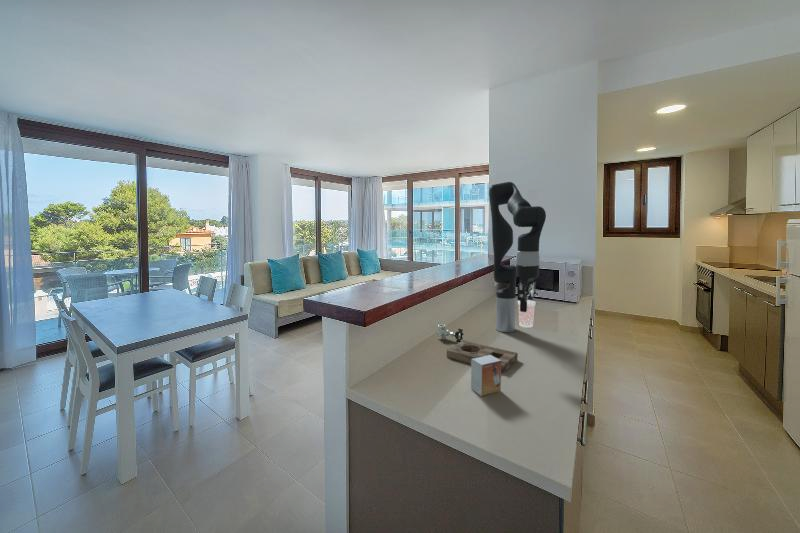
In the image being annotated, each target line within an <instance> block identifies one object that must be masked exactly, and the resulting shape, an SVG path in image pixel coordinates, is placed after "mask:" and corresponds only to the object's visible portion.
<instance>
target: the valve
mask: <svg viewBox="0 0 800 533" xmlns="http://www.w3.org/2000/svg"><path fill="white" fill-rule="evenodd" d="M457 330H458V331H456V332H453V331H450V330H449V329H446V325H445V324H443V323H440V324H438V325H437V332H436V333H437V339H438V338H440V339H439V340H441V339H443V340H446V337H449V336H450V337H455V338H454V339H455V342H456V343H459V342H461V341H463V340H464V339H463V338H464V337H463V336H464V332H463V331H464V330H463V328H457Z"/></svg>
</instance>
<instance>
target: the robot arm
mask: <svg viewBox="0 0 800 533" xmlns="http://www.w3.org/2000/svg"><path fill="white" fill-rule="evenodd" d="M488 197H489V205H490V207H489V208H490V216H491V232H492V233H491V235H492V236H491V237H492V248H493V279H494V280H493V281H494V282H495V283H496V284H508V286H507V287H505V288H502V289H498V290H497V291H496V298H495V300H496V301H495V302H496V303H495V304H496V307H495V309H496V310H495V312H496V313H495V330H496V331H498V332H501V333H513V332H515V331H516V305H517V304H516V302H517V301H518V300H519V301H520V311H521V312H526V311H527V300H532V301H534V297H535V295H536V290H537V289H536V287H537V278H538V277H539V276H540V238H541V235H542V231H543V227H544V225H545V222H546V219H547V218H546V217H547V213H546V210H545V208H543V206H537V205H536V206H532V205H531V204H530V202H528V200H527V199H526V198H524V197H523V196H522V194H521V192H520V191H519V189H518V187H517V185H516V184H515V183H514V182H512V181H505V182H501V183H494V184H491V185H490V186H489V190H488ZM502 205H506V207H507V210H508V212H509V213H510V214H511V215H512V221H513V224H514V225H515V226H516V227H518V228H531V229H530V230H529V232H526V233H523V234H519V236H518V238H517V254H516V264H515V265H516V266H515V265H509V264H507V265H506V264H502V261H503V259H504V257H505V255H506V254H507V253H509V251H510V249H511V248H512V247H513V244H514V231H513V228H512V226H511V225H510V223H509V222H508V221H507V220H506V219H505V217H504V216H503V215H502V213H501V212H500V207H499V206H502ZM517 278H520V281H519V283H518V284H517ZM526 292H527V293H526ZM516 297H517V299H516ZM516 300H517V301H516Z"/></svg>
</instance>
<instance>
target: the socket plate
mask: <svg viewBox="0 0 800 533" xmlns="http://www.w3.org/2000/svg"><path fill="white" fill-rule="evenodd" d="M518 354H519V353H518V352H516V351H511V350H506V349H503V348H498V347H494V346H489V345H486V344H482V343H477V342H474V341H473V342H472V341H468V340H465V339H463V340H461V342H457V344H455V345H453V346H451V347H449V348H447V349H446V358H449V359H453V360H457V361H459V362H463V363H467V364H470V365H471V359H474V358H479V357H484V356H488V355H492V356H494V357H495V358H497V359H499V360H501V374H505V373H506V372H507V370H509V369H510V368H511V367H512V366H513V365H514V364H515V363H516V362H517V361H518V360H519V359H518V356H519V355H518Z"/></svg>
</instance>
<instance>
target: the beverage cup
mask: <svg viewBox="0 0 800 533" xmlns="http://www.w3.org/2000/svg"><path fill="white" fill-rule="evenodd" d="M526 293H527V292H526ZM536 302H537V301H535V300H533V301H532V300H527V311H526V312H521V311H520V301H519V300H518V299H517V305H518V323H519V324H518V326H520V327H521V328H524V329H525V328H533V326H534V318H535V307H536V304H537V303H536Z"/></svg>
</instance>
